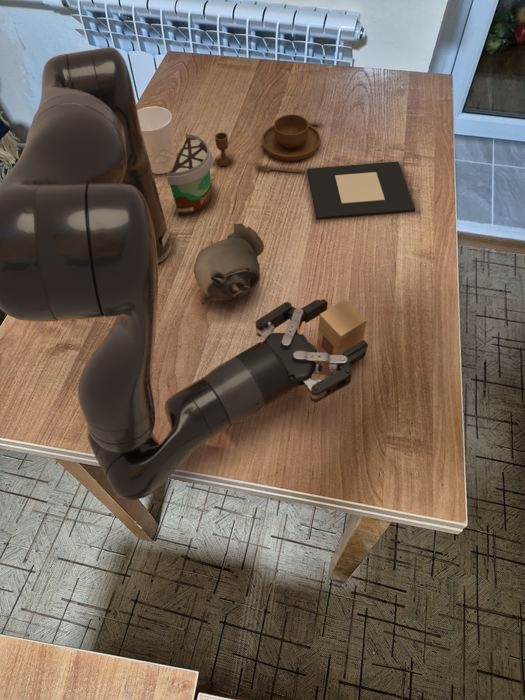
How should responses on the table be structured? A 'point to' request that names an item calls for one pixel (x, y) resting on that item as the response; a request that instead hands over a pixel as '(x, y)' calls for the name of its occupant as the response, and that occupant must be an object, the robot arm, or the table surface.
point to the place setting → (281, 141)
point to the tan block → (340, 329)
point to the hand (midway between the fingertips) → (345, 324)
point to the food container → (191, 176)
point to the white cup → (158, 138)
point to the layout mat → (359, 190)
